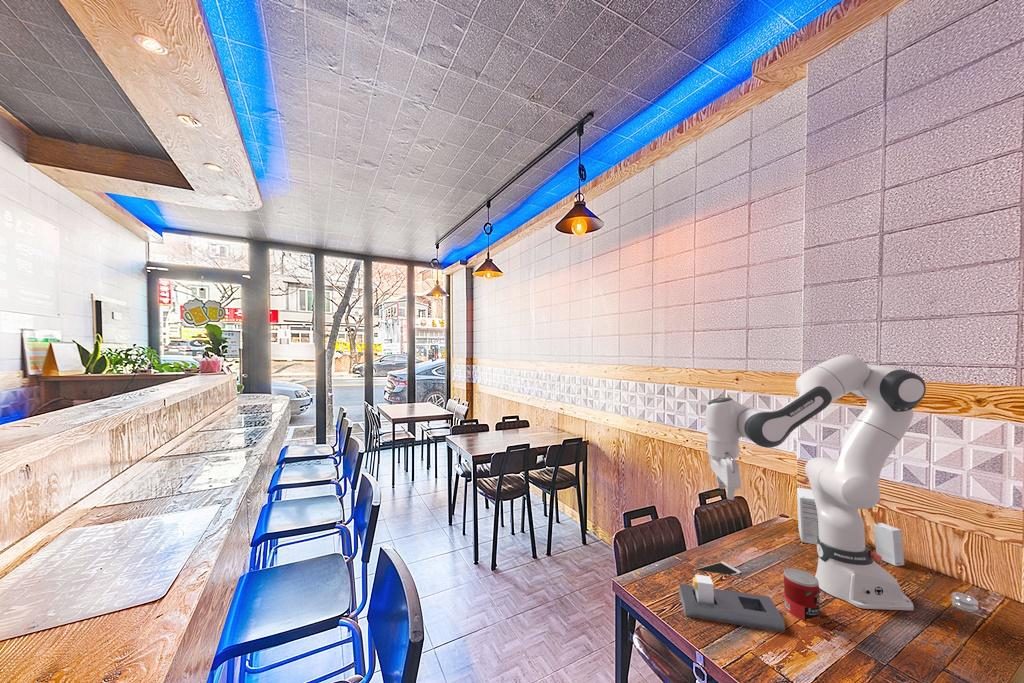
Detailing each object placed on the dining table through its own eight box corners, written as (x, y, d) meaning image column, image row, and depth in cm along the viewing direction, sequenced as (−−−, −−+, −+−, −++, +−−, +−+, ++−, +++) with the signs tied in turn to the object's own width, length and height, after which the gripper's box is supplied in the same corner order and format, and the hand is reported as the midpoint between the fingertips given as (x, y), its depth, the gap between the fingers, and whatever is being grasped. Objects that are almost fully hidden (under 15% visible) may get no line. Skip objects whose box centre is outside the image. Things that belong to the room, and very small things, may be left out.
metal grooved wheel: (947, 603, 110) (972, 614, 105) (946, 592, 110) (971, 603, 106) (958, 600, 112) (983, 611, 107) (957, 589, 112) (982, 600, 107)
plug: (710, 604, 109) (710, 576, 109) (714, 613, 105) (713, 584, 105) (692, 601, 110) (692, 573, 110) (695, 610, 106) (694, 581, 106)
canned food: (811, 629, 100) (810, 587, 100) (779, 611, 107) (777, 572, 107) (826, 620, 103) (824, 579, 104) (793, 603, 111) (792, 565, 111)
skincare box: (905, 565, 130) (903, 529, 130) (895, 566, 129) (893, 531, 129) (884, 556, 136) (882, 522, 136) (874, 557, 135) (873, 523, 135)
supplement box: (845, 551, 139) (843, 504, 140) (801, 542, 146) (799, 497, 147) (838, 537, 150) (837, 492, 151) (797, 529, 157) (796, 486, 158)
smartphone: (689, 573, 127) (689, 570, 127) (723, 563, 132) (723, 561, 133) (707, 584, 120) (707, 581, 120) (741, 574, 126) (741, 571, 126)
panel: (769, 610, 107) (769, 595, 108) (785, 635, 98) (784, 619, 98) (679, 597, 114) (679, 582, 114) (685, 619, 104) (685, 604, 104)
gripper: (745, 458, 108) (748, 507, 108) (724, 442, 128) (727, 483, 127) (721, 457, 110) (724, 505, 109) (704, 442, 130) (707, 482, 129)
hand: (725, 493), depth 118 cm, fingers open, 8 cm apart
